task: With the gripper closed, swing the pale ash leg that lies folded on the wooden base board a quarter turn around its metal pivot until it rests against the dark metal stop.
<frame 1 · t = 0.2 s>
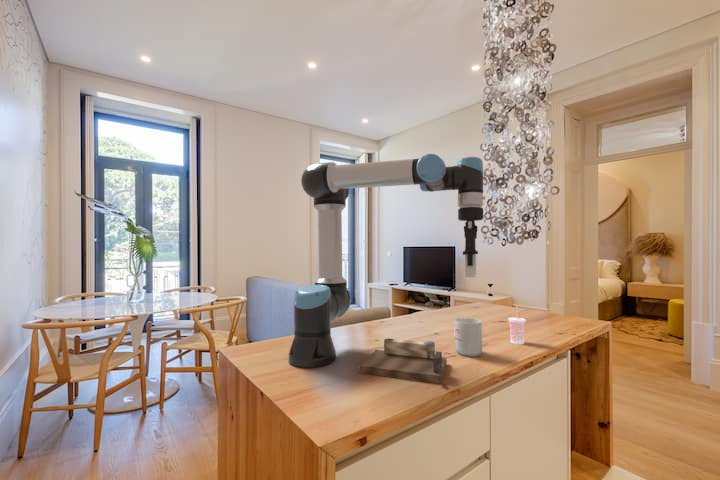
hand: (471, 275, 103), 27 cm above the worktop, fingers open, 13 cm apart
beverage cup: (517, 343, 127), on the worktop
wooden base board: (404, 368, 99), on the worktop
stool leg: (408, 347, 105), point 5 cm above the worktop, hinge at 0.0°
mug: (465, 352, 115), on the worktop
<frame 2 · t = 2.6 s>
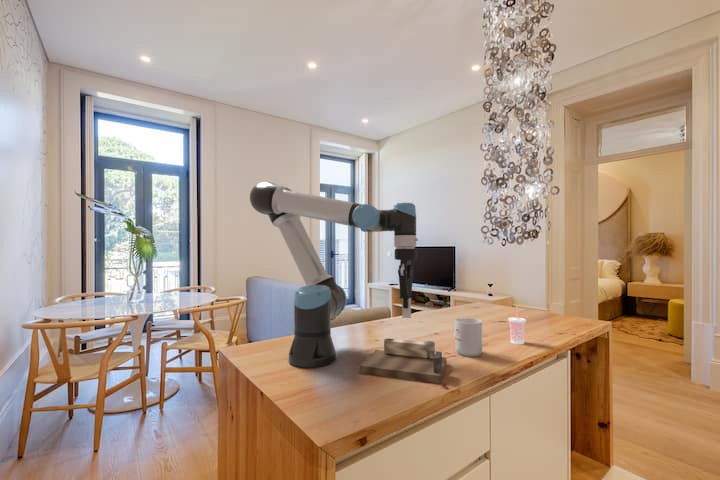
hand: (406, 317, 113), 12 cm above the worktop, fingers closed
nothing on the worktop moved.
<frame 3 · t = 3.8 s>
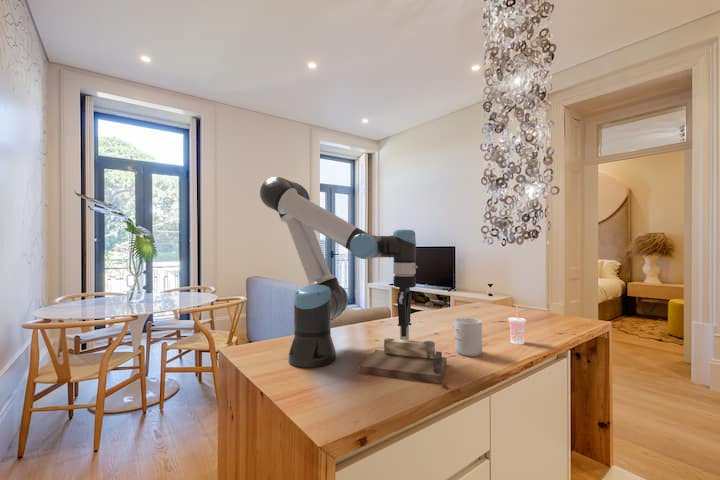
hand: (404, 345, 112), 3 cm above the worktop, fingers closed
nothing on the worktop moved.
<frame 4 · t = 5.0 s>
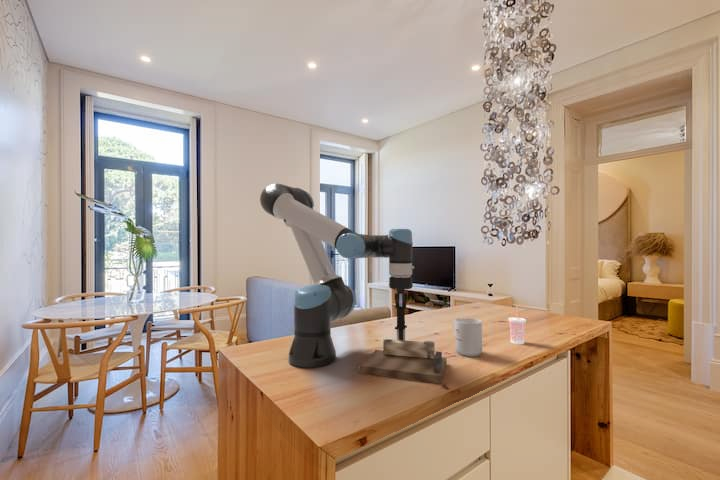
hand: (400, 348, 107), 3 cm above the worktop, fingers closed
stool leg: (408, 347, 104), point 4 cm above the worktop, hinge at 4.5°, touching gripper
everything else where it was.
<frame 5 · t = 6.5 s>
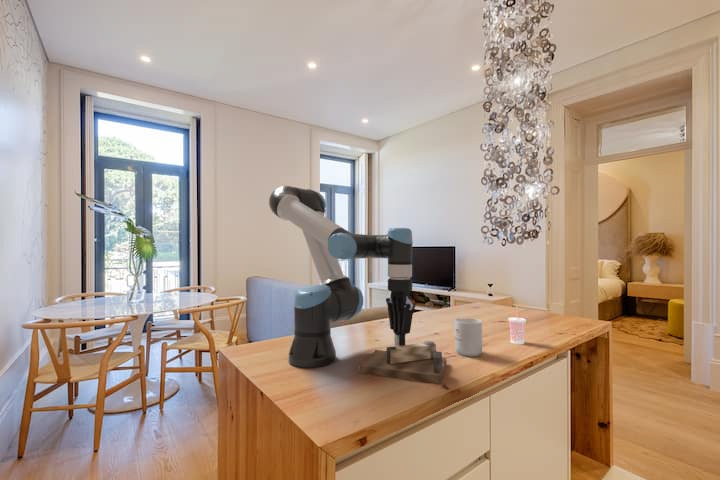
hand: (399, 354, 102), 3 cm above the worktop, fingers closed
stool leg: (411, 351, 100), point 5 cm above the worktop, hinge at 41.5°, touching gripper
everything else where it was.
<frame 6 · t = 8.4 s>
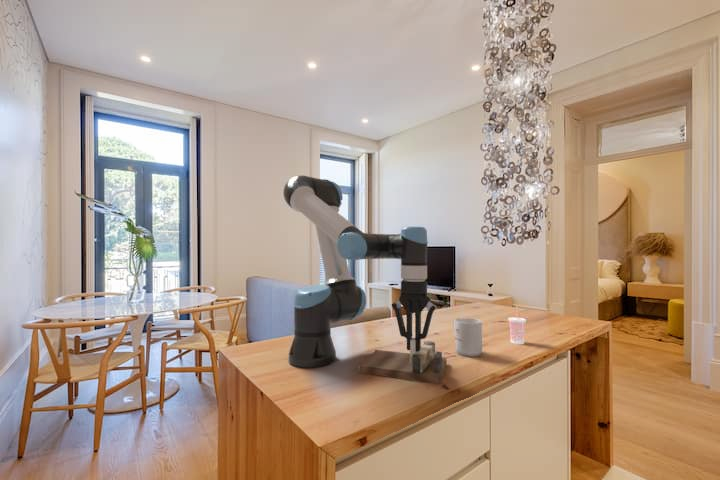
hand: (413, 361, 96), 3 cm above the worktop, fingers closed
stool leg: (423, 355, 97), point 4 cm above the worktop, hinge at 84.4°, touching gripper
everything else where it was.
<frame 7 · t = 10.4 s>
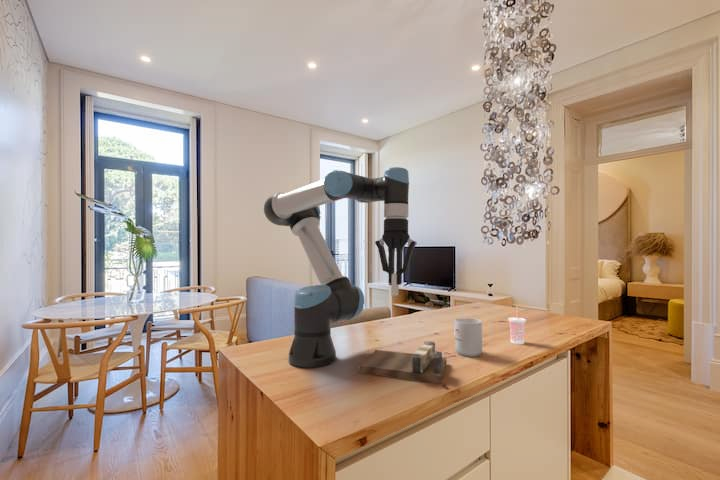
hand: (394, 294, 102), 22 cm above the worktop, fingers closed
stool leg: (423, 355, 97), point 4 cm above the worktop, hinge at 84.5°
everything else where it was.
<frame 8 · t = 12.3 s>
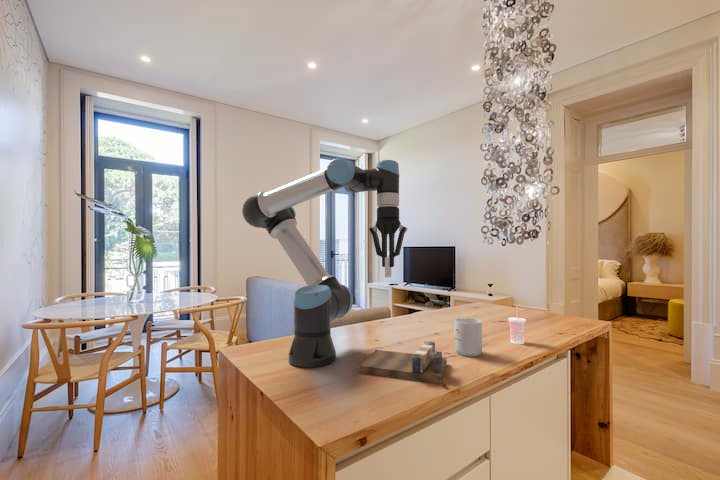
hand: (388, 276, 111), 26 cm above the worktop, fingers closed
nothing on the worktop moved.
at the end: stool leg at +84° (first picture: +0°); mug moved 0.2 cm from its start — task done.
